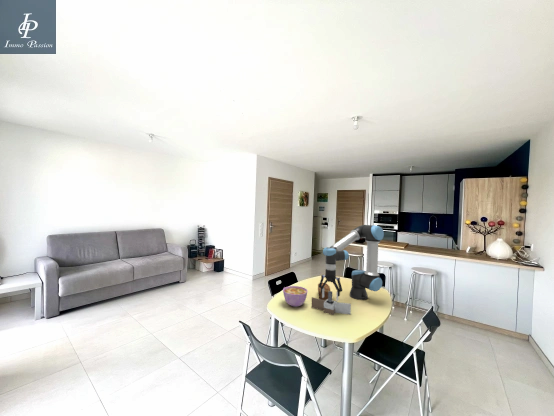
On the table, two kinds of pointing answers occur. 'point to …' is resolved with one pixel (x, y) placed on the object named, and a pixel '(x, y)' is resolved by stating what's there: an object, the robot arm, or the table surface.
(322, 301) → the hinge leaves
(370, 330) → the table surface
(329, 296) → the hinge pin
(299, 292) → the bowl of food
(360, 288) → the robot arm
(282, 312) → the table surface
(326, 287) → the bread
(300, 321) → the table surface
